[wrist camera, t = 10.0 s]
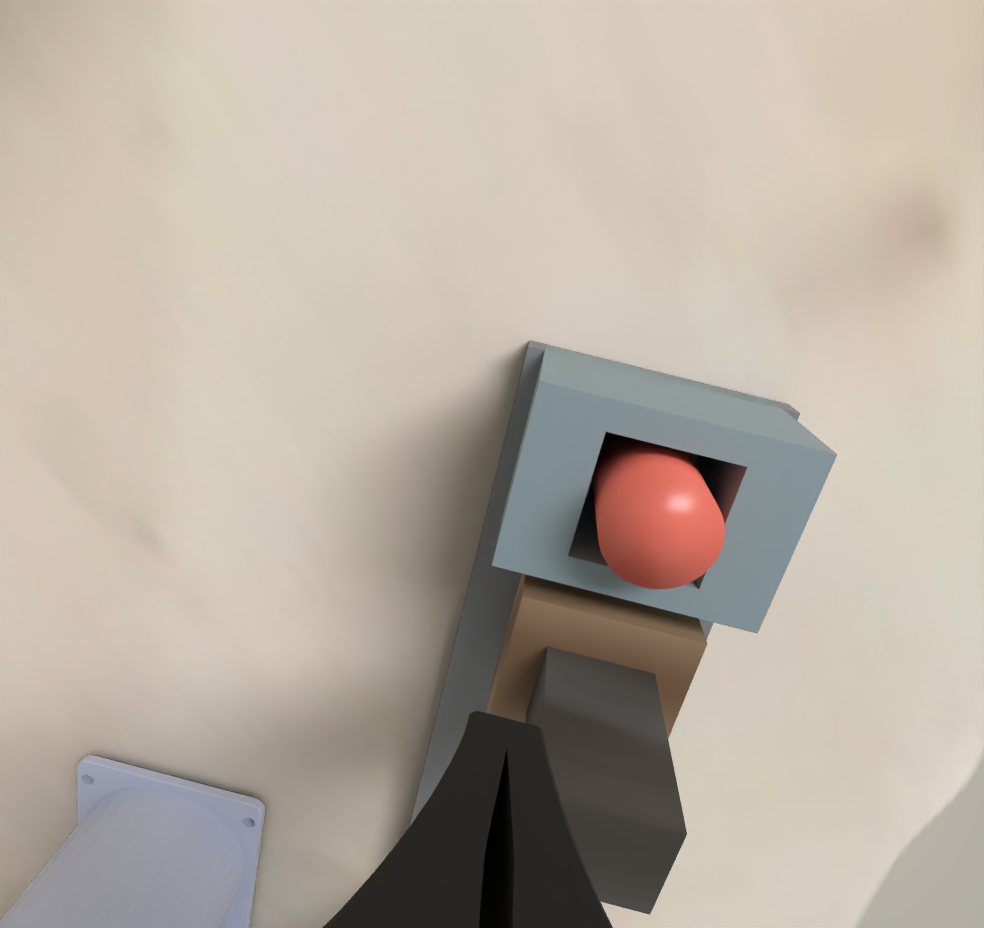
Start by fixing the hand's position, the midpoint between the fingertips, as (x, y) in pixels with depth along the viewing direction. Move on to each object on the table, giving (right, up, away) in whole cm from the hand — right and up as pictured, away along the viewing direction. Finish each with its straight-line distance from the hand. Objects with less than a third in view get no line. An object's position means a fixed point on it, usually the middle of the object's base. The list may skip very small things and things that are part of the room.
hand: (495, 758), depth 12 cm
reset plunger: (+4, +5, +6) cm, 9 cm away
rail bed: (+2, -3, +12) cm, 12 cm away
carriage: (+3, 0, +8) cm, 9 cm away
